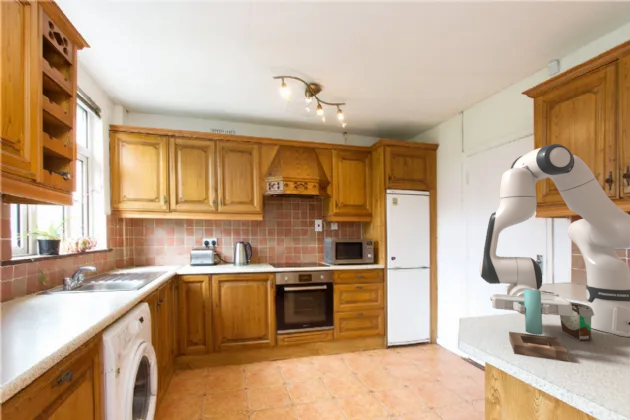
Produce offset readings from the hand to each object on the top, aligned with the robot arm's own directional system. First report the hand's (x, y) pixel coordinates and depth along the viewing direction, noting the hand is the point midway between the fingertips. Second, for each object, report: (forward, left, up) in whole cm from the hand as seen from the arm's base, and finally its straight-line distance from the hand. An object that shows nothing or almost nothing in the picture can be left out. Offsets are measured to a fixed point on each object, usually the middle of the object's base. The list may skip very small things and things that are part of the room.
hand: (533, 310), depth 88 cm
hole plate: (0, -1, -11) cm, 11 cm away
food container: (-15, -20, -12) cm, 28 cm away
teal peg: (0, -1, -7) cm, 7 cm away
